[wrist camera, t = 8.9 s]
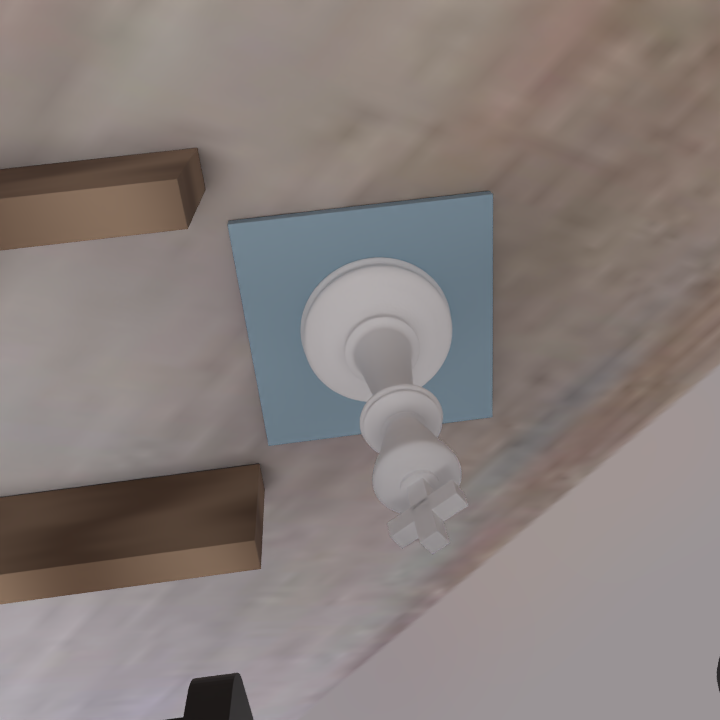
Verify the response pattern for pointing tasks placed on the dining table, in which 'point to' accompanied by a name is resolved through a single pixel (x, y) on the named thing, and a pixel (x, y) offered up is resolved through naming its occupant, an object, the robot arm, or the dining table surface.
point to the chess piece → (391, 384)
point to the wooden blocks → (129, 498)
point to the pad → (345, 245)
